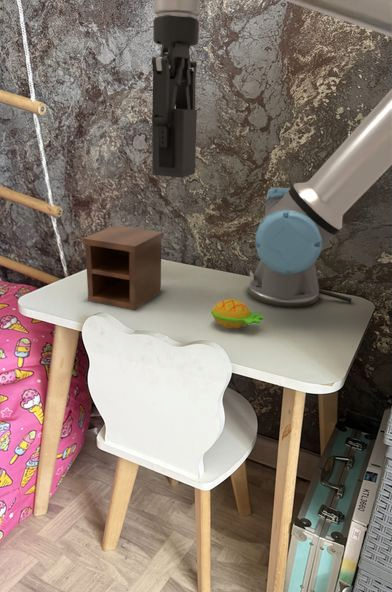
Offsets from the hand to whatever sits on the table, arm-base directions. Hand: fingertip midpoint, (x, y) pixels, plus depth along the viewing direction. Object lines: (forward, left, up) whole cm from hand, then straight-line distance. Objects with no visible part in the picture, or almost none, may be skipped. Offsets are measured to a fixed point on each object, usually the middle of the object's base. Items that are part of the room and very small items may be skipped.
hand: (174, 164), depth 96 cm
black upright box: (0, 0, -2) cm, 2 cm away
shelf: (+11, 0, -28) cm, 30 cm away
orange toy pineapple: (-16, +5, -28) cm, 32 cm away
